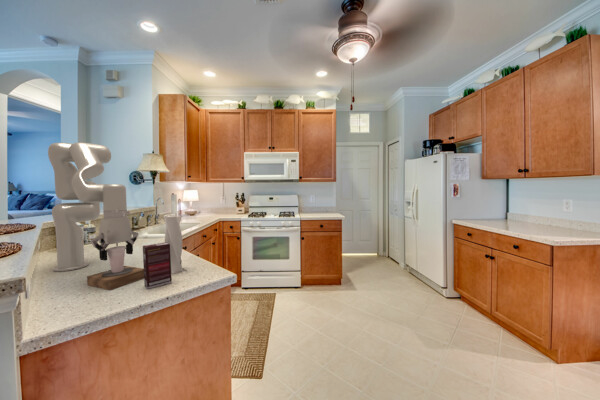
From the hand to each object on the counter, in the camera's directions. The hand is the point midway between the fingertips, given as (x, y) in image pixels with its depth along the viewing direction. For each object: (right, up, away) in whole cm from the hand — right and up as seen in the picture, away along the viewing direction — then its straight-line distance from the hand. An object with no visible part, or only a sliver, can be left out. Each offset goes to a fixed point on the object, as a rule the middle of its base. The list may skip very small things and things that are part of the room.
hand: (117, 256), depth 97 cm
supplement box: (+19, -10, -4) cm, 22 cm away
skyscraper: (+18, -10, +12) cm, 23 cm away
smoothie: (0, -6, 0) cm, 6 cm away
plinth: (0, -10, 0) cm, 10 cm away
